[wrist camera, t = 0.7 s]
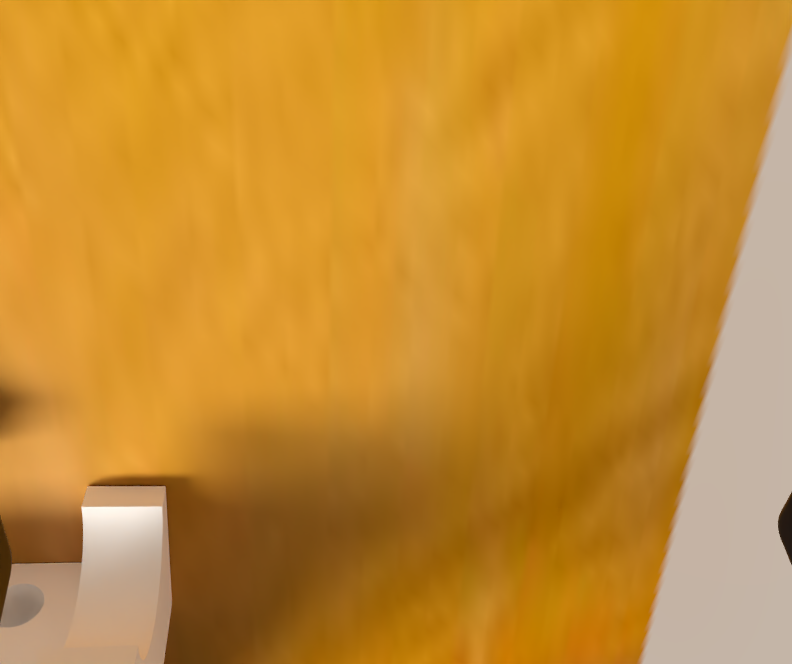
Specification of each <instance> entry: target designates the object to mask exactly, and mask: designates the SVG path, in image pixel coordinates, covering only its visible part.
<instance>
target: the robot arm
mask: <svg viewBox="0 0 792 664" xmlns="http://www.w3.org/2000/svg"><path fill="white" fill-rule="evenodd" d="M778 529H779V534H780V537H781V540H782V542H783V545H784V547H785V550H786V552H787V555H788V557H789V560H790V562H791V564H792V493H791V494H790V496H789V498H788V500H787V502H786V504H785V505H784V507H783V509H782V511H781V513H780V515H779V520H778ZM11 568H12V555H11V549H10V546H9V543H8V539H7V536H6V533H5V530H4V526H3V523H2V520H1V517H0V622H1V617H2V613H3V608H4V603H5V599H6V594H7V589H8V585H9V580H10V575H11Z"/></svg>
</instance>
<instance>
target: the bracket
mask: <svg viewBox="0 0 792 664" xmlns="http://www.w3.org/2000/svg"><path fill="white" fill-rule="evenodd" d="M82 517H83V554H82V563H30V564H12V568H11V575H10V580H9V585H8V589H7V594H6V599H5V603H4V608H3V613H2V617H1V622H0V664H164V658H165V651H166V644H167V637H168V630H169V622H170V615H171V608H172V592H171V574H170V556H169V537H168V519H167V501H166V486H87V490H86V493H85V496H84V500H83V503H82Z"/></svg>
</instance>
